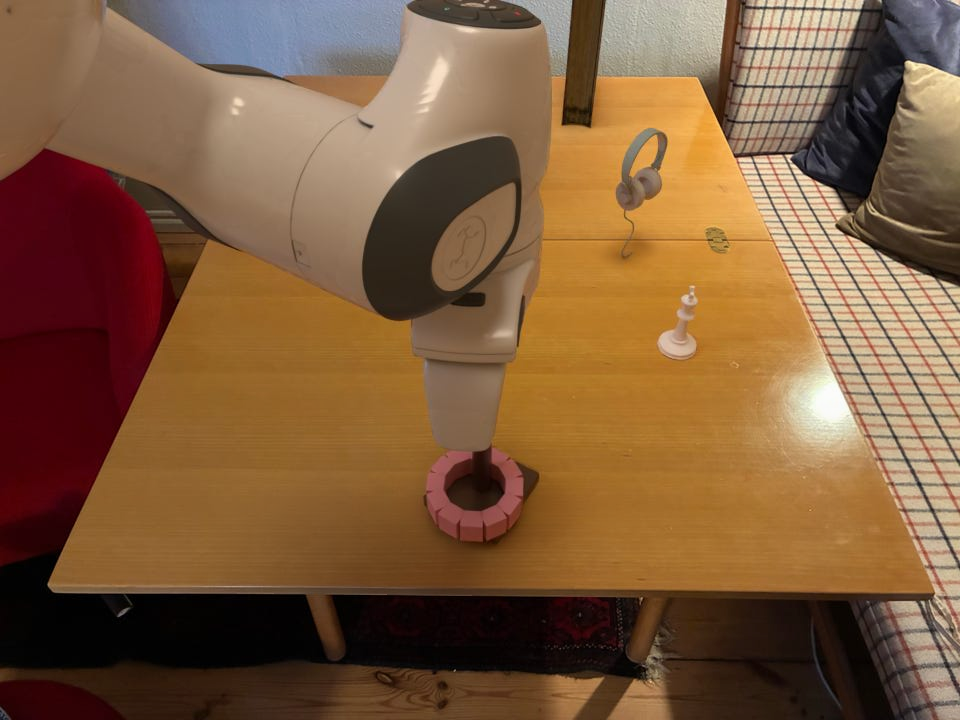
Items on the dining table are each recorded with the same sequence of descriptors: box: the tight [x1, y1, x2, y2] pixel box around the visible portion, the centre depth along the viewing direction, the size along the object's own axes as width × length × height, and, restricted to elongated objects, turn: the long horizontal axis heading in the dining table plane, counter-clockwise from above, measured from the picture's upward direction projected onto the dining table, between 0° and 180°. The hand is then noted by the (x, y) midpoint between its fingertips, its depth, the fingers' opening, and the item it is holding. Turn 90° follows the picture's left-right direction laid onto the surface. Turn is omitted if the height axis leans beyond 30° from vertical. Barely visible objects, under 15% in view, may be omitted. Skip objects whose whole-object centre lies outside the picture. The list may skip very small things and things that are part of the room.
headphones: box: [615, 127, 669, 259], centre depth 95 cm, size 8×4×20 cm, turn 134°
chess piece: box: [656, 285, 699, 361], centre depth 86 cm, size 5×5×10 cm
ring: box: [425, 446, 524, 542], centre depth 71 cm, size 10×10×3 cm
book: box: [561, 0, 607, 128], centre depth 126 cm, size 16×6×25 cm, turn 171°
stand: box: [422, 442, 540, 545], centre depth 70 cm, size 9×9×14 cm
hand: (476, 392), depth 56 cm, fingers open, 8 cm apart
